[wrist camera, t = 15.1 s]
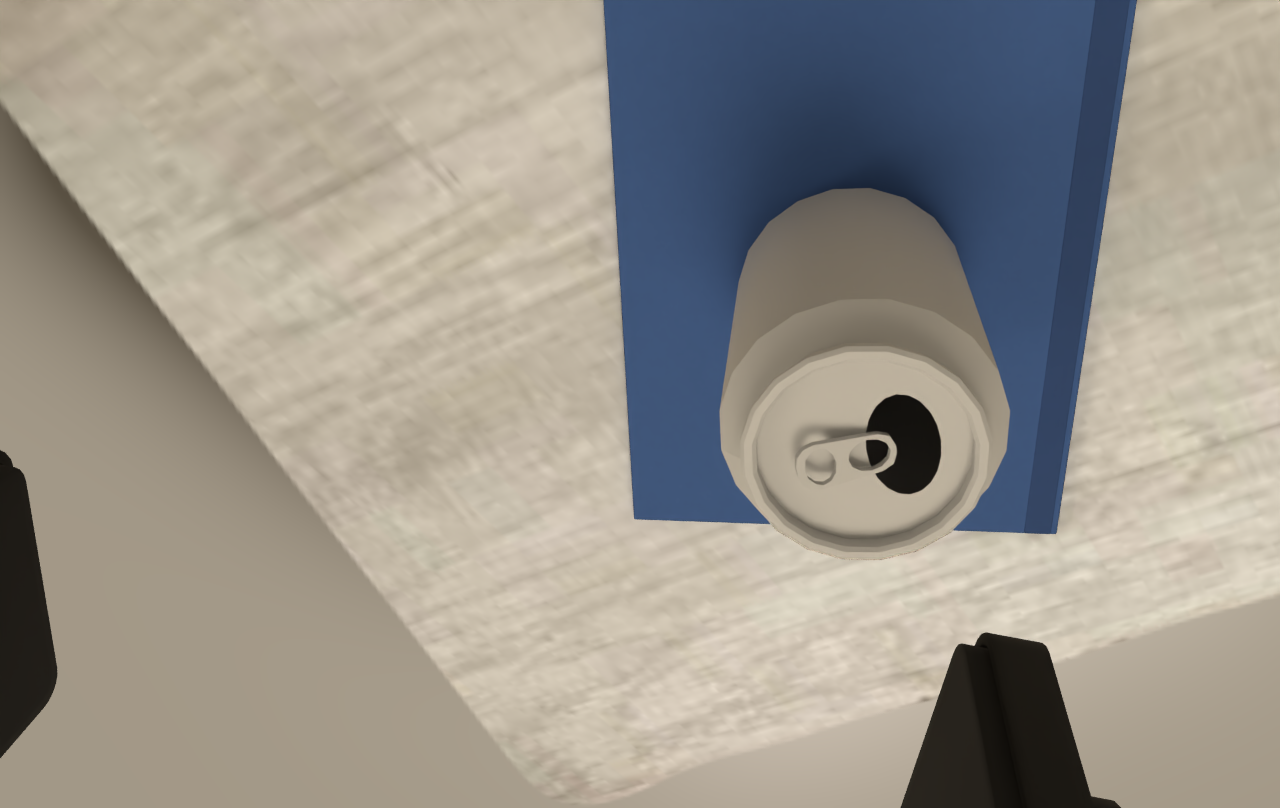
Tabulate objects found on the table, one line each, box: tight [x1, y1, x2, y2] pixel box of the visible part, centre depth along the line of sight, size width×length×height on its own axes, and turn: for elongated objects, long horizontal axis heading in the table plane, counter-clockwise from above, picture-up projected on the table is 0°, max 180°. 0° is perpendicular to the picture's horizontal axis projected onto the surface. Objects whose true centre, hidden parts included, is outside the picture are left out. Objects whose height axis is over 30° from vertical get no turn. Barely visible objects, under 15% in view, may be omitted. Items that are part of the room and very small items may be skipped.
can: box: [720, 188, 1010, 560], centre depth 33 cm, size 8×8×12 cm
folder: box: [604, 0, 1137, 534], centre depth 38 cm, size 20×16×1 cm
